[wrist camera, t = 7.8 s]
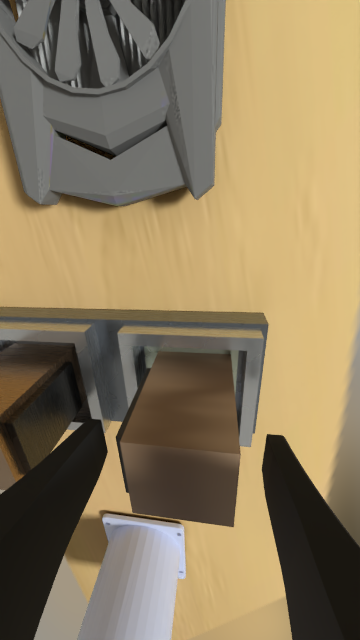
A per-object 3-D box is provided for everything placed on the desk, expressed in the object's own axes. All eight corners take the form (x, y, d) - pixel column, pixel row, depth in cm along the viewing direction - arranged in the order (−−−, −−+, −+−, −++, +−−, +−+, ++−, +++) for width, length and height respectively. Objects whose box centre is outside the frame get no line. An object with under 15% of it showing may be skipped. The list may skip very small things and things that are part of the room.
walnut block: (231, 354, 13) (240, 454, 8) (227, 411, 15) (233, 527, 9) (151, 350, 14) (108, 441, 8) (156, 405, 15) (123, 511, 10)
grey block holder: (251, 415, 17) (274, 553, 10) (28, 397, 19) (-76, 499, 12) (263, 313, 14) (308, 411, 7) (-5, 306, 16) (-165, 376, 9)
